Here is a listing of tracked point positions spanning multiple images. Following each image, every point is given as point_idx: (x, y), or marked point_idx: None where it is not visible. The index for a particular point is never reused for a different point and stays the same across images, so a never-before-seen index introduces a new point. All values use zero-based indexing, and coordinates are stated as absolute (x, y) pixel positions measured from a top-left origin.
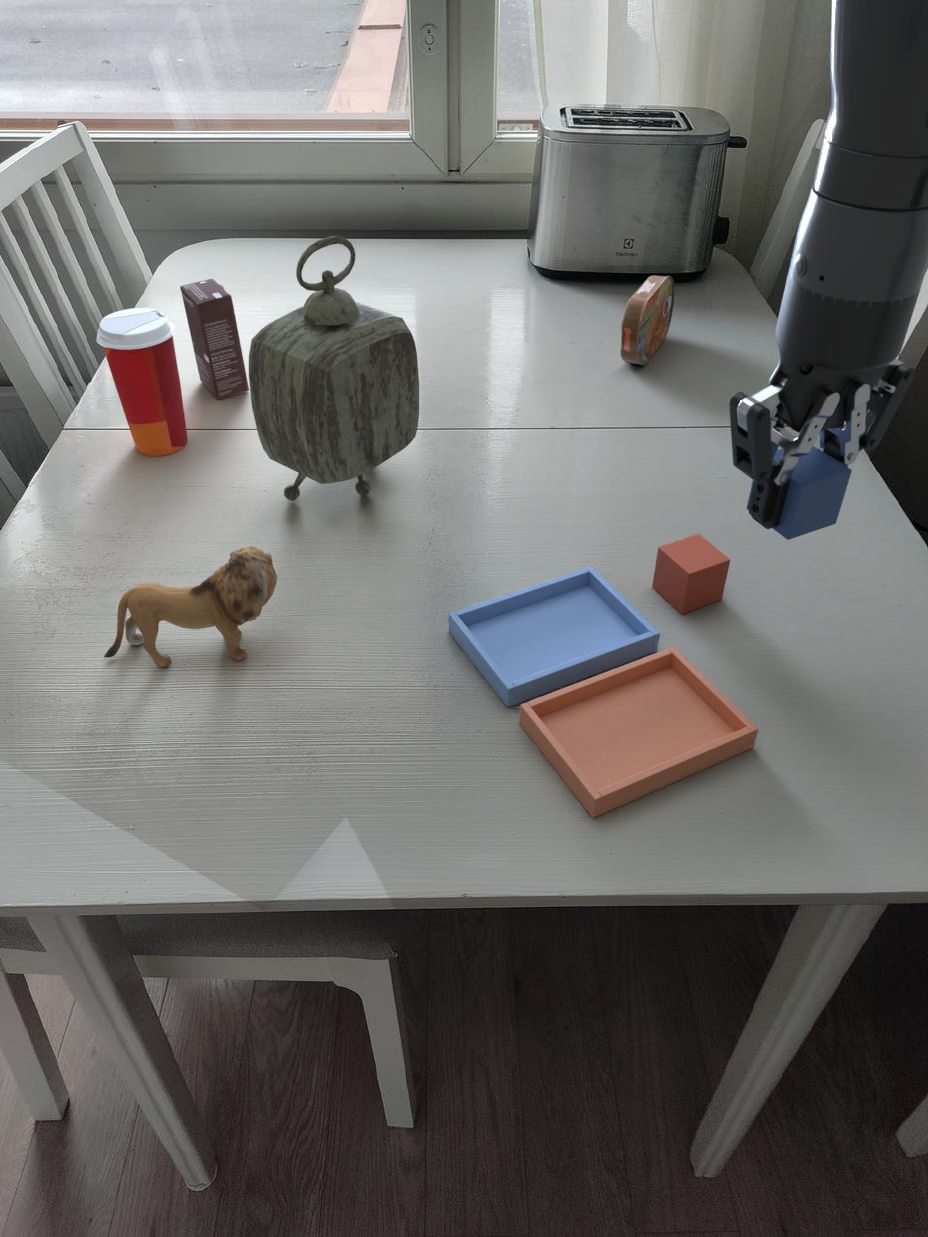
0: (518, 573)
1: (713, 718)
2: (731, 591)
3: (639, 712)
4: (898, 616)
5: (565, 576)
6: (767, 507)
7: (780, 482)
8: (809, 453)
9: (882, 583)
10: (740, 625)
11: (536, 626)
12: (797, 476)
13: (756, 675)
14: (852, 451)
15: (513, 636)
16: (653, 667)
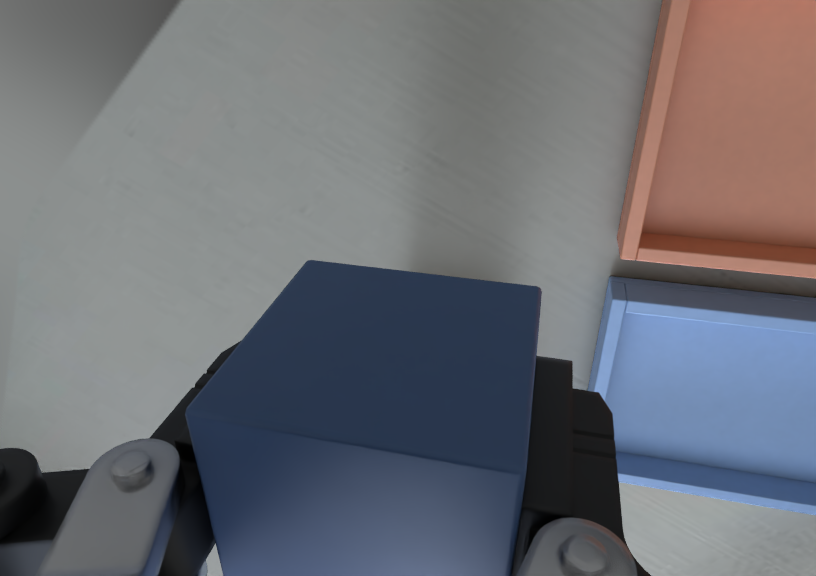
0: (658, 519)
1: (683, 73)
2: None
3: (798, 167)
4: (149, 111)
5: (638, 482)
6: (594, 443)
7: (603, 543)
8: (281, 571)
9: (126, 190)
10: (423, 244)
11: (755, 427)
12: (475, 522)
13: (495, 130)
14: (116, 495)
15: (814, 432)
16: (681, 242)
